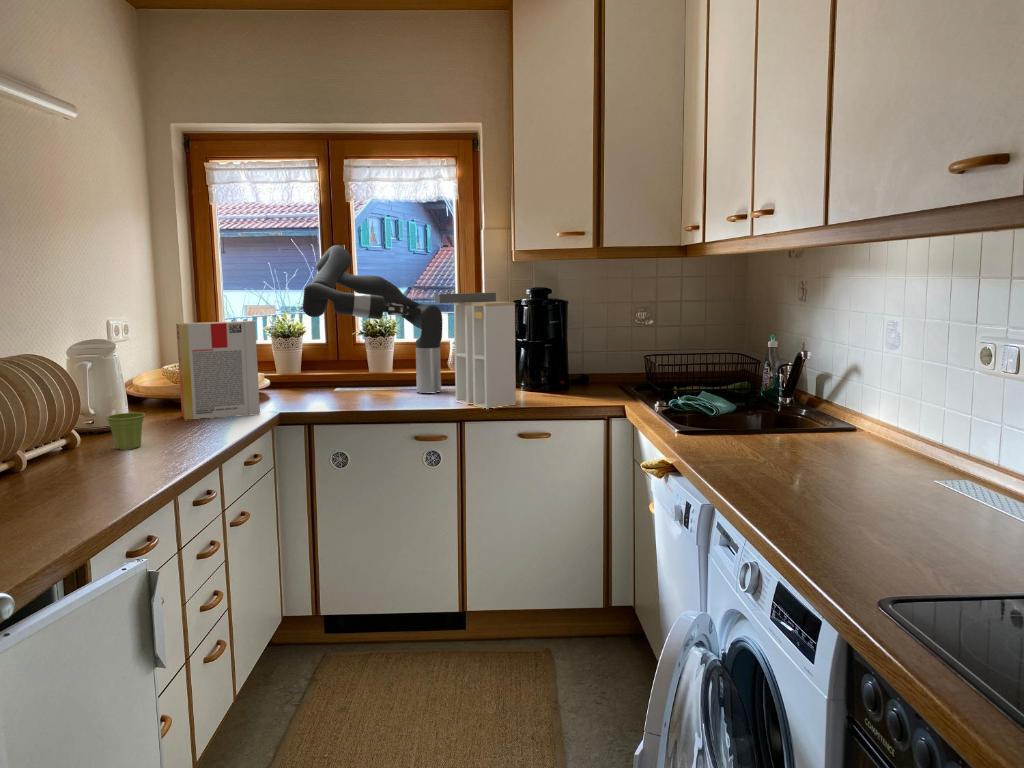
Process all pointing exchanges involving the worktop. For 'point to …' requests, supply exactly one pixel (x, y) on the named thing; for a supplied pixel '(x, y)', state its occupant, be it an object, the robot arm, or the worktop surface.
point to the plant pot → (126, 429)
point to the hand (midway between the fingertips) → (418, 312)
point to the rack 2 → (493, 354)
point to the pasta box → (218, 369)
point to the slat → (465, 297)
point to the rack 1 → (463, 351)
